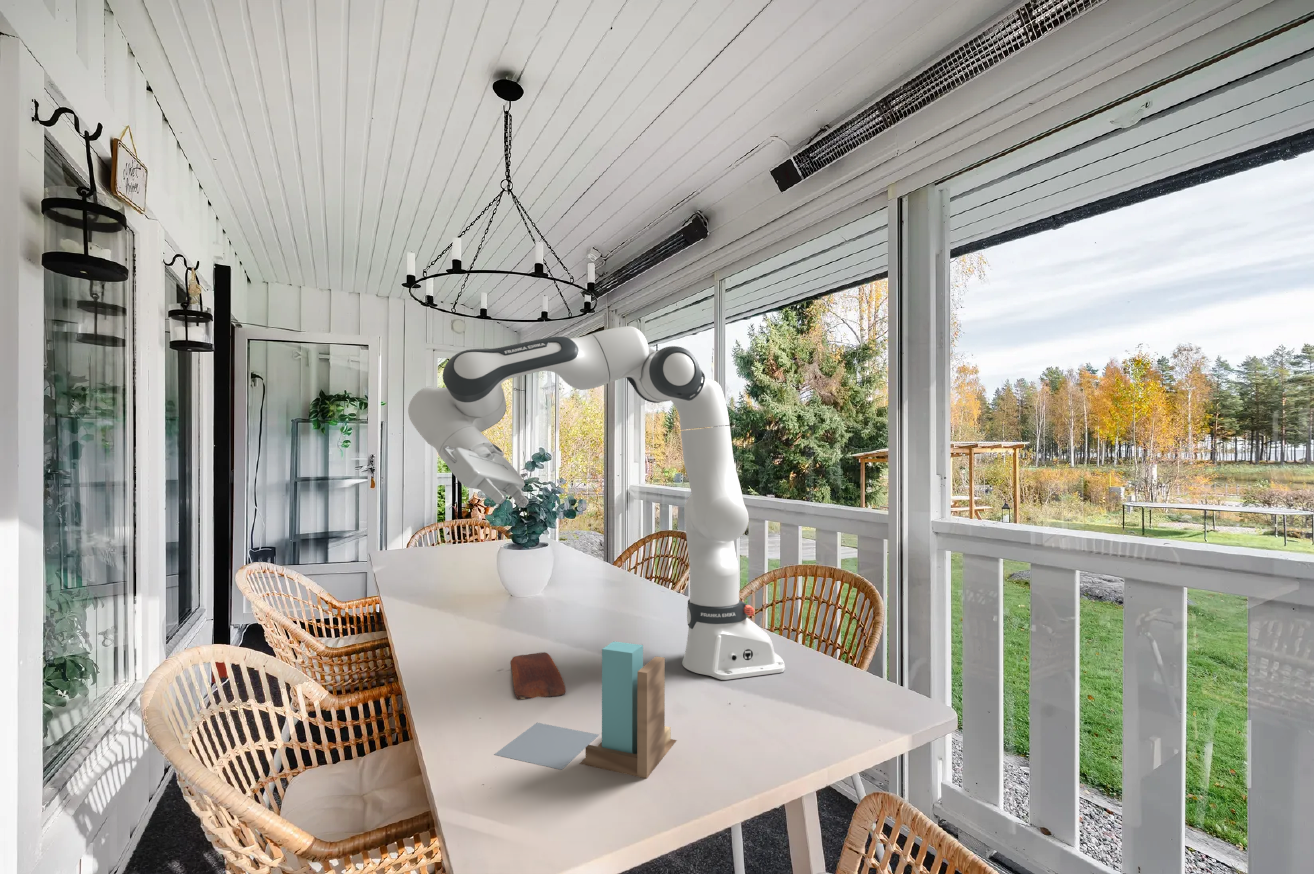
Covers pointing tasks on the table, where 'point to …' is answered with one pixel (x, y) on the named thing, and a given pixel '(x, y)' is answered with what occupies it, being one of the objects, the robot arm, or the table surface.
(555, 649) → the table surface
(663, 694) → the walnut rack
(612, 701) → the tall teal block
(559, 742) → the slate mat
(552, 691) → the wooden tablet
